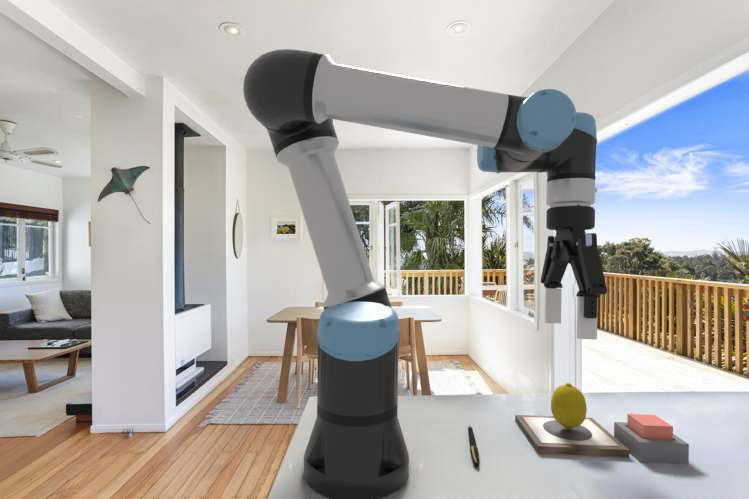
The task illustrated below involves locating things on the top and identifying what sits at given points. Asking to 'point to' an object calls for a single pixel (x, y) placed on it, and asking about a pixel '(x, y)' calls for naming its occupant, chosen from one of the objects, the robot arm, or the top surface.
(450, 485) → the top surface
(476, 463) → the fountain pen
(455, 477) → the top surface
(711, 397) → the top surface
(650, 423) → the button
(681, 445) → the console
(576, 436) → the board
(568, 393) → the lemon
